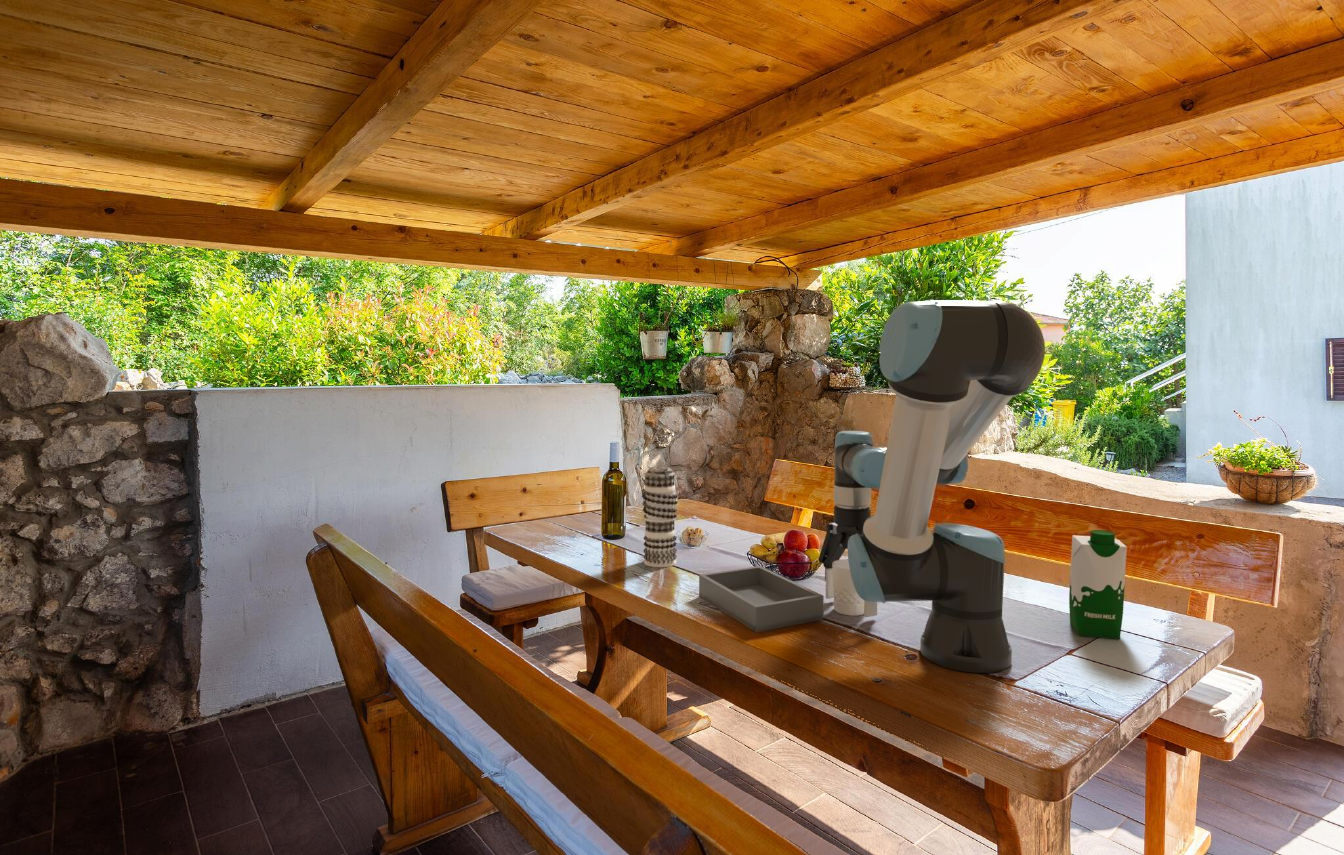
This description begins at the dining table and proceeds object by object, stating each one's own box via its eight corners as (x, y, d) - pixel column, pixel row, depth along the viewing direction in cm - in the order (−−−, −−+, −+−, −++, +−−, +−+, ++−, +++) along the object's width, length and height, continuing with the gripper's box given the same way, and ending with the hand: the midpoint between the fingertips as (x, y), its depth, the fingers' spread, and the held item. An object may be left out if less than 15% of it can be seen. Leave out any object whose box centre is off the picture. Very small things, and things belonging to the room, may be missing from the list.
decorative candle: (636, 560, 194) (635, 466, 192) (667, 556, 199) (667, 464, 196) (652, 569, 186) (651, 471, 184) (684, 564, 191) (683, 468, 188)
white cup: (866, 604, 159) (867, 559, 158) (872, 617, 151) (873, 570, 150) (829, 603, 160) (830, 558, 159) (833, 616, 152) (834, 568, 151)
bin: (823, 619, 150) (823, 595, 150) (755, 632, 143) (756, 607, 143) (760, 586, 172) (760, 565, 171) (699, 596, 165) (699, 574, 164)
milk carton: (1075, 637, 140) (1080, 533, 138) (1063, 620, 149) (1068, 523, 147) (1127, 641, 138) (1133, 536, 136) (1112, 624, 146) (1117, 526, 145)
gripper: (907, 514, 144) (905, 621, 146) (830, 494, 166) (829, 587, 168) (877, 518, 141) (875, 627, 143) (803, 497, 163) (802, 592, 165)
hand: (850, 606), depth 155 cm, fingers open, 12 cm apart
